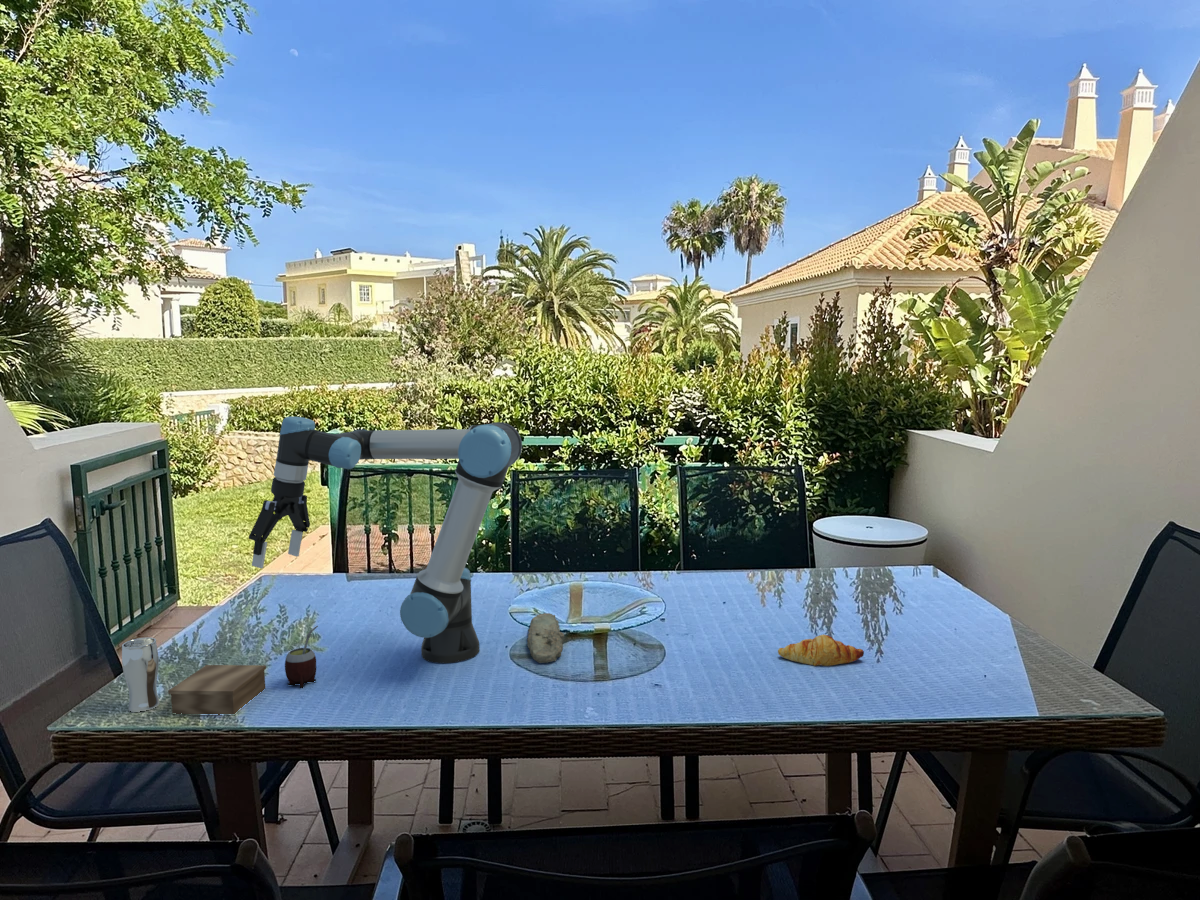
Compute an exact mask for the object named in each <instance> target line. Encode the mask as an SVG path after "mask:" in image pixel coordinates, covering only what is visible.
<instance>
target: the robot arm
mask: <svg viewBox="0 0 1200 900" xmlns="http://www.w3.org/2000/svg"><path fill="white" fill-rule="evenodd" d="M522 451H523V441H522V438H521V435H520V434H519V432H518V431H517V429H516V428H515V427H514V426H512V425H511V424H509V423H506V422H502V421H495V422H491V423H488V424H487V423H486V424H474V425H473V424H472V425H470V426H469V428H468V429H467V428H466V429H465V428H463V429H461V428H460V429H458V428H457V429H395V430H394V429H393V430H392V429H389V430H385V429H384V430H383V429H382V430H381V429H380V430H379V429H377V430H376V429H375V430H368V429H355V430H353V431H348V432H347V431H346V432H340V433H336V434H335V433H330V432H329V433H328V432H325V431H320V430H318V429H316V423H315V421H314V420H312V419H310V418H306V417H301V416H292V415H291V416H286V417H284V418H283V420H282V423H281V427H280V432H279V438H278V447H277V453H276V457H275V466H274V470H273V471H274V472H273V476H274V478H272V482H271V488H270V493H272V494H273V499H272V501H270V500H267V499H265V500H263V503H262V505H261V506H262V507H261V510H260V513H259V514H258V516H257V518H256V521H255V523H254V524H253V527H252V528H251V531H250V533H249V535H248V540H251V541H254V544H253V550H252V554H253V556H252V561H251V566H252V567H254V568H259V569H263V568H264V565H265V558H266V553H267V552H266V551H267V547H268V541H266V540H268V538H269V536H270V534H271V533H272V532H273V530H274V528H275V527H276V525H277V523H278V522H279V521H281V520H282V519H283V518H284V517H287V516H288V518H289V519H290V522H291V523H292V526H293V528H294V529H292V530H291V534H290V540H289V546H288V551H287V555H290V556H294V557H299V556H300V552H301V551H300V550H301V546H302V545H301V544H302V540H303V534H304V532H305V533H307V532H308V530H309V528H310V527H311V522H310V516H309V511H308V504H307V502H308V495H305V494H304V493H305V492H304V491H305V487H306V482H305V481H306V480H307V474H308V469H309V462H310V461H312V462H316V463H320V464H324V465H327V466H332V467H335V468H337V469H344V470H345V469H346V470H351V469H354V467H356V465H357V464H359V461H360V460H433V459H434V460H450V459H451V460H457V459H458V462H457V464H456V467H455V470H454V472H455V475H456V477H457V479H458V481H457V483H456V486H455V489H454V492H453V494H452V497H451V500H450V503H449V506H448V509H447V512H446V513H445V516H444V519H443V522H442V525H441V527H440V530H439V533H438V535H437V538H436V542H435V545H434V546H433V549H432V552H431V554H430V557H429V560H428V563H427V566H426V568H425V569H422V570H420V571H419V572H417V574H416V575H417V576H416V578H415V581H414V584H413V586H412V588H411V592H410V593H409V594H408V595H407V596H406V597H404V600H402V603H401V605H400V609H399V614H400V616H399V617H400V620H401V622H402V623H403V626H404V628H405V629H406V630H407V631H408V632H409V633H410V634H411V635H413V636H416V637H418V638H423V640H422V644H421V646H420V647H421V649H420V652H421V657H422V659H424V660H425V661H427V662H431V663H434V664H435V663H436V664H437V663H438V664H451V663H452V664H453V663H459V662H464V661H467V660H470V659H472V658H474V657H476V656H477V655H478V654H479V653H480V641H479V638H478V635H477V633H476V630H475V627H474V625H473V619H472V618H473V615H472V613H473V612H472V583H471V582H472V578H471V571H470V570H469V568H468V567H466V565H467V562H468V559H469V558H470V557H469V556H470V555H471V551H472V549H473V546H474V544H475V541H476V538H477V535H478V532H479V530H480V527H481V524H482V522H483V518H484V517H485V515H486V511H487V507H488V506H489V503H490V500H491V498H492V494H493V492H495V491H496V490H499V489H501V488H502V486H503V483H504V480H505V478H506V475H507V474H508V471H509V467H511V466H512V465H513V464H515V463H516V462H517V460H519V458H520V457H521V453H522Z"/></svg>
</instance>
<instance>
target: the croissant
mask: <svg viewBox="0 0 1200 900" xmlns="http://www.w3.org/2000/svg"><path fill="white" fill-rule="evenodd" d="M777 653H778V655H779V656H780V657H782V658H784V659H786V660H790V661H791V662H795V663H800V664H804V665H810V666H814V667H815V666H816V667H817V666H825V667H830V666H835V665H836V666H838V665H840V664H841V665H843V664H849V663H853V662H855V661H856V662H857V660H859V659H860V658H863V657H864V653H865V650H863V649H862V648H857V647H855V646H852V645H849V644H847V645H846V644H845V643H843V642H842V641H839V640H836V639H834V638H833V637H832V636H831V635H828V634H827V635H826V634H820V635H818V636H815V637H814V638H807V639H802V640H801V641H799V642H796V643H790V644H787V645H786V646H785V647H779V648H778V649H777Z"/></svg>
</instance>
